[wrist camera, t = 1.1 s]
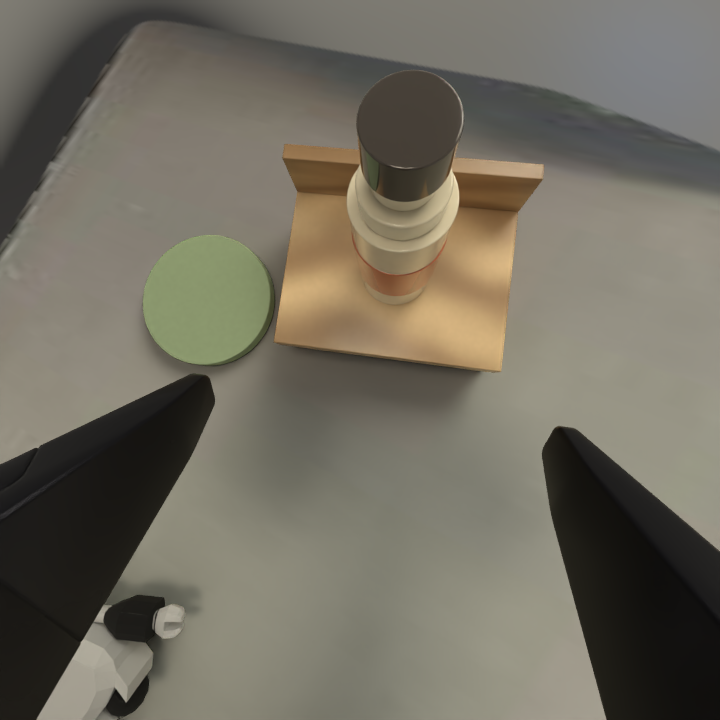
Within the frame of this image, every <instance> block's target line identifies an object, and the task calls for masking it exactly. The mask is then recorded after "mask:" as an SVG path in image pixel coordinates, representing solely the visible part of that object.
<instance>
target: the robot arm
mask: <svg viewBox="0 0 720 720" xmlns="http://www.w3.org/2000/svg"><path fill="white" fill-rule="evenodd" d="M214 404H215V397H214V393H213V389H212V385H211V381H210V378H209V377H208V376H206V375H202V374H190V375H188V376H186V377H184V378H181V379H179V380H177V381H175V382H173V383H171V384H169V385H167V386H165V387H163V388H160V389H158V390H156V391H154V392H152V393H150V394H148V395H146V396H144V397H142V398H140V399H137V400H135V401H133V402H131V403H129V404H127V405H125V406H123V407H121V408H119V409H116V410H114V411H112V412H110V413H108V414H106V415H104V416H102V417H100V418H98V419H95V420H93V421H91V422H89V423H87V424H85V425H83V426H81V427H79V428H77V429H74V430H72V431H70V432H68V433H66V434H64V435H62V436H60V437H58V438H56V439H53V440H51V441H49V442H47V443H45V444H43V445H41V446H40V447H39V448H34V449H32V450H30V451H28V452H26V453H24V454H22V455H20V456H18V457H16V458H13V459H11V460H9V461H7V462H5V463H3V464H0V720H36V719H37V718H38V716H39V714H40V713H41V711H42V709H43V707H44V706H45V704H46V702H47V701H48V699H49V697H50V696H51V694H52V692H53V691H54V689H55V687H56V685H57V684H58V682H59V680H60V679H61V677H62V675H63V674H64V672H65V670H66V668H67V667H68V665H69V663H70V662H71V660H72V658H73V657H74V655H75V653H76V651H77V650H78V648H79V646H80V645H81V641H82V640H83V639H84V637H85V636H86V634H87V632H88V631H89V629H90V627H91V625H92V624H93V622H94V620H95V619H96V617H97V615H98V614H99V612H100V610H101V608H102V607H103V605H104V603H105V602H106V600H107V598H108V597H109V595H110V593H111V591H112V590H113V588H114V586H115V585H116V583H117V581H118V580H119V578H120V576H121V575H122V573H123V571H124V569H125V568H126V566H127V564H128V563H129V561H130V559H131V558H132V556H133V554H134V552H135V551H136V549H137V547H138V546H139V544H140V542H141V541H142V539H143V537H144V535H145V534H146V532H147V530H148V529H149V527H150V525H151V524H152V522H153V520H154V518H155V517H156V515H157V513H158V512H159V510H160V508H161V507H162V505H163V503H164V501H165V500H166V498H167V496H168V495H169V493H170V491H171V490H172V488H173V486H174V484H175V483H176V481H177V479H178V478H179V476H180V474H181V473H182V471H183V469H184V468H185V466H186V464H187V462H188V461H189V459H190V457H191V455H192V453H193V451H194V449H195V447H196V445H197V443H198V440H199V438H200V436H201V434H202V432H203V429H204V427H205V425H206V423H207V420H208V418H209V416H210V414H211V412H212V409H213V407H214ZM542 459H543V466H544V473H545V479H546V486H547V492H548V499H549V505H550V511H551V516H552V520H553V524H554V528H555V531H556V535H557V539H558V542H559V546H560V550H561V554H562V557H563V561H564V565H565V568H566V572H567V576H568V579H569V583H570V587H571V590H572V594H573V598H574V601H575V605H576V609H577V613H578V616H579V620H580V624H581V627H582V631H583V635H584V638H585V642H586V646H587V649H588V653H589V657H590V660H591V664H592V668H593V671H594V675H595V679H596V683H597V686H598V690H599V694H600V697H601V701H602V705H603V708H604V712H605V716H606V719H607V720H720V551H719V550H718V549H716V548H715V547H714V546H713V545H712V544H710V543H709V542H708V541H707V540H706V539H705V538H703V537H702V536H701V535H700V534H699V533H698V532H696V531H695V530H694V529H693V528H692V527H691V526H689V525H688V524H687V523H686V522H685V521H683V520H682V519H681V518H680V517H679V516H678V515H676V514H675V513H674V512H673V511H672V510H671V509H669V508H668V507H667V506H666V505H665V504H664V503H662V502H661V501H660V500H659V499H658V498H656V497H655V496H654V495H653V494H652V493H651V492H649V491H648V490H647V489H646V488H645V487H644V486H642V485H641V484H640V483H639V482H638V481H637V480H635V479H634V478H633V477H632V476H631V475H630V474H628V473H627V472H626V471H625V470H624V469H622V468H621V467H620V466H619V465H618V464H617V463H615V462H614V461H613V460H612V459H611V458H610V457H608V456H607V455H606V454H605V453H604V452H603V451H601V450H600V449H599V448H598V447H597V446H595V445H594V444H593V443H592V442H591V441H590V440H588V439H587V438H586V437H585V436H584V435H583V434H581V433H580V432H579V431H578V430H576V429H574V428H569V427H562V426H557V427H556V428H554V430H553V431H552V433H551V435H550V437H549V438H548V440H547V442H546V443H545V445H544V447H543V450H542Z"/></svg>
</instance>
